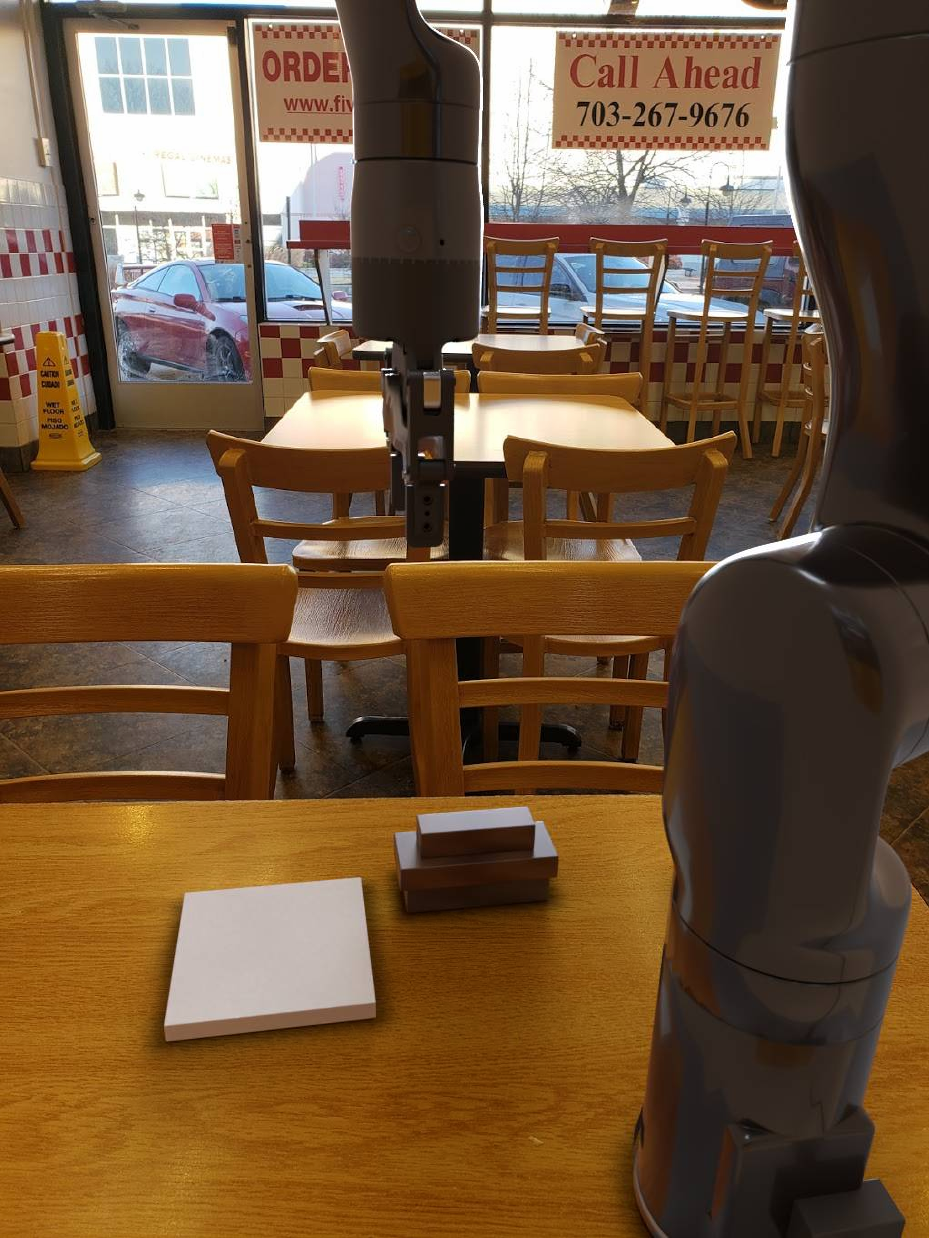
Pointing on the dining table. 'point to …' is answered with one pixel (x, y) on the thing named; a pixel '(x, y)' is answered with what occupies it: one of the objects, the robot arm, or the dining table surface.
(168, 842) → the dining table surface
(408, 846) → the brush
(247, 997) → the tile
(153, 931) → the dining table surface
